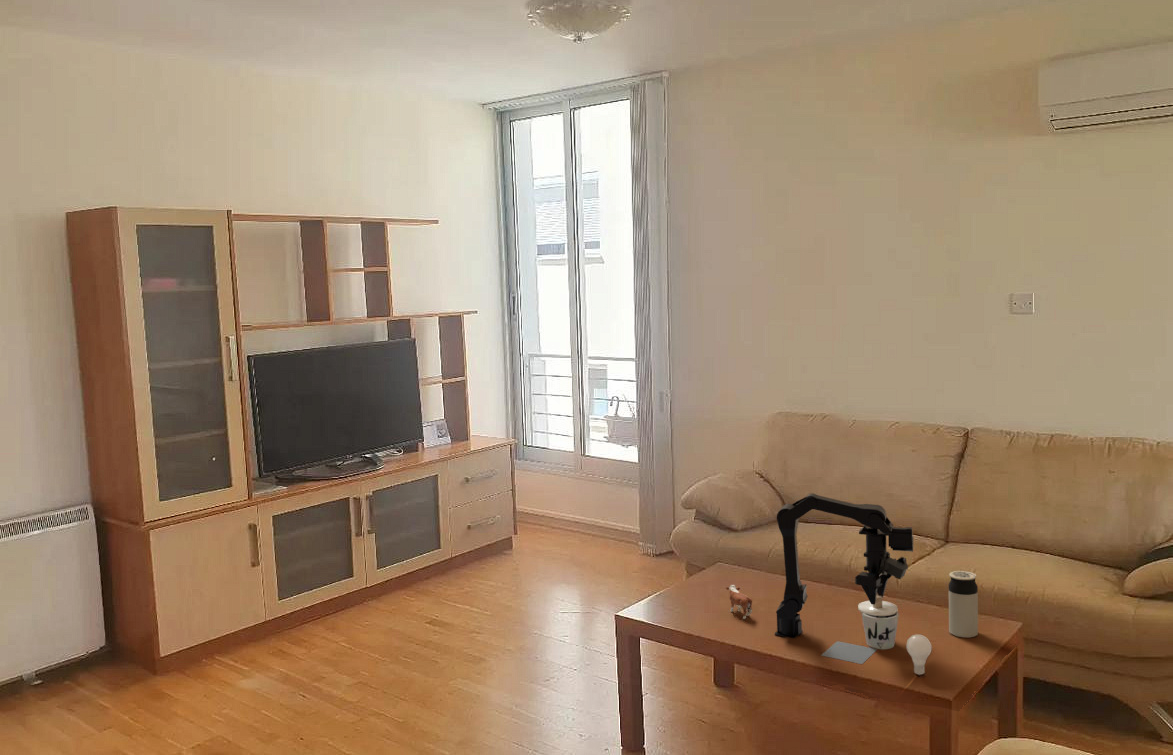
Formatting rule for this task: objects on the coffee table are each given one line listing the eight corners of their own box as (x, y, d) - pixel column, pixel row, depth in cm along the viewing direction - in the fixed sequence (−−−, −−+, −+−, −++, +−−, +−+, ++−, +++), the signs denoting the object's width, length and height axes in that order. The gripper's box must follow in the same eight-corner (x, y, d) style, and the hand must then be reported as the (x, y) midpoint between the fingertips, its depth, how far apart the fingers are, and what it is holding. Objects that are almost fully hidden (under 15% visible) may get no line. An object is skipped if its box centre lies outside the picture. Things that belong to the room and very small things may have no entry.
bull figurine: (735, 606, 306) (734, 582, 305) (755, 619, 293) (754, 594, 292) (723, 608, 304) (723, 584, 304) (743, 621, 292) (742, 596, 291)
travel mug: (954, 638, 270) (954, 579, 268) (945, 628, 278) (944, 570, 276) (982, 637, 269) (981, 578, 268) (971, 627, 277) (971, 569, 276)
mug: (862, 651, 264) (862, 617, 263) (860, 631, 279) (859, 599, 278) (900, 653, 262) (900, 619, 261) (896, 633, 276) (896, 601, 275)
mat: (821, 656, 262) (821, 655, 262) (837, 642, 271) (837, 641, 271) (862, 665, 255) (862, 664, 255) (877, 650, 264) (877, 649, 264)
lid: (852, 611, 268) (852, 599, 268) (866, 600, 277) (866, 588, 276) (889, 618, 261) (889, 605, 261) (903, 607, 270) (902, 594, 270)
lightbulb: (906, 678, 245) (905, 638, 244) (907, 668, 251) (906, 629, 250) (931, 680, 243) (931, 640, 242) (931, 671, 249) (931, 631, 248)
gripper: (892, 561, 255) (893, 616, 257) (914, 544, 270) (915, 596, 271) (853, 556, 262) (855, 609, 263) (877, 539, 277) (877, 590, 278)
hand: (877, 601), depth 269 cm, fingers open, 6 cm apart
